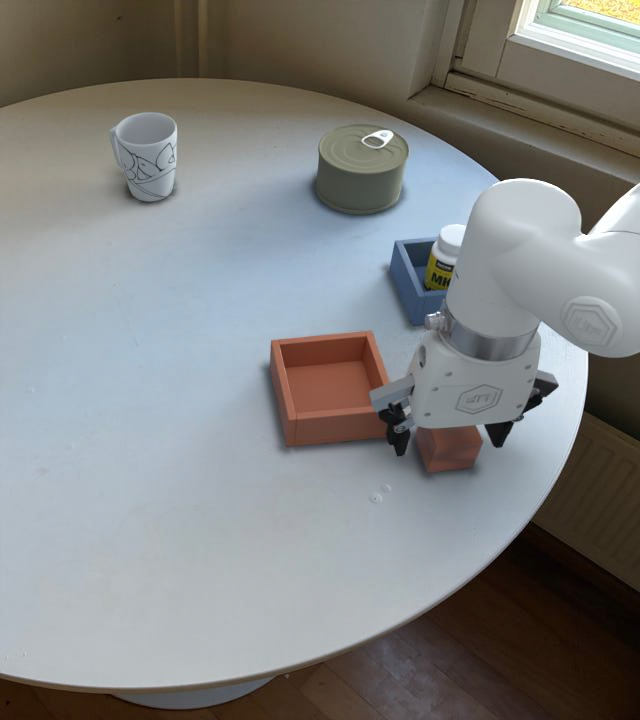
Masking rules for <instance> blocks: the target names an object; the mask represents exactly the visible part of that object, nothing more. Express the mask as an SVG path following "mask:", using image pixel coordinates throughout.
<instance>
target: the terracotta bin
mask: <svg viewBox="0 0 640 720" xmlns="http://www.w3.org/2000/svg"><path fill="white" fill-rule="evenodd" d="M269 371H270V376H271V381H272V385H273V390H274V395H275V400H276V404H277V409H278V414H279V418H280V423H281V427H282V433H283V436H284V441H285V445H286V447H287V448H289V447H297V446H308V445H309V446H310V445H317V444H318V445H319V444H320V445H321V444H328V443H341V442H351V441H362V440H371V439H382V438H386V430H387V426H388V424H387V423H385V422H384V421H382V420H381V419H380V418H379V415H378V414H377V413H376V411H375V410H374V408H373V407H372V405H371V403H370V399H369V396H368V392H369V391H371V390H373V389H376V388H379V387H381V386H384V385H386V384H389V383H391V381H390V378H389V375H388V371H387V369H386V366H385V363H384V361H383V357H382V355H381V351H380V349H379V346H378V344H377V341H376V338H375V335H374V332H373V330H362V331H351V332H341V333H329V334H320V335H311V336H310V335H308V336H298V337H289V338H288V337H287V338H280V339H279V338H278V339H271V340H270V351H269ZM393 402H394V401H393ZM391 403H392V402H391Z"/></svg>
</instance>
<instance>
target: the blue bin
mask: <svg viewBox="0 0 640 720" xmlns="http://www.w3.org/2000/svg"><path fill="white" fill-rule="evenodd" d="M438 237H439V236H429V237H420V238H408V239H399V240H394V244H393V248H392V253H391V258H390V264H389V271H390V274H391V276H392V279H393V282H394V285H395V286H396V289H397V292H398V294H399V296H400V299H401V302H402V304H403V306H404V309H405V312H406V314H407V316H408V320H409V321H410V324H411V326H418V325H419V326H420V325H425V316H426V315H428V314H434V313H435V312H437V311H439V310H440V308H441V304H442V301H443V299H445V297H446V294H447V291H448V290H438V291H427V292H425V291H424V289H423V280H424V277H425V273H426V269H427V265H428V261H429V257H430V253H431V249H432V246H433V244H434V243H435V242H436V241H437V240H438Z"/></svg>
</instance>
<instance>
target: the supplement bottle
mask: <svg viewBox="0 0 640 720" xmlns="http://www.w3.org/2000/svg"><path fill="white" fill-rule="evenodd" d="M466 226H467V225H463V224H457V223H456V224H455V223H454V224H453V223H452V224H447V225H445V226H443V227H442V228H441V229H440V230H439V233H438V236H437V237H438V240H437V241H436V242H435V243H434V244H433V246H432V249H431V253H430V257H429V261H428V265H427V269H426V273H425V277H424V280H423V289H424V291H425V292H427V291H438V290H448V288H449V284H450V281H451V278H452V274H453V271H454V267H455V264H456V260H457V257H458V254H459V250H460V247H461V243H462V240H463V237H464V233H465V230H466Z"/></svg>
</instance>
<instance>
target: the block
mask: <svg viewBox="0 0 640 720" xmlns="http://www.w3.org/2000/svg"><path fill="white" fill-rule="evenodd" d="M414 439H415V441H416V444H417V446H418V449H419V452H420V455H421V458H422V460H423V464H424V466H425V470H426V472H427V473H436V472H448V471H457V470H469V469H473V467H474V465H475V463H476V461H477V459H478V455H479V454H480V451H481V448H482V446H483V444H484V441H483V439H482V436H481V434H480V432H479V429H478V426H477V425H472V426H461V427H448V428H423V427H419V426H417V428H416V431H415V434H414Z"/></svg>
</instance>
